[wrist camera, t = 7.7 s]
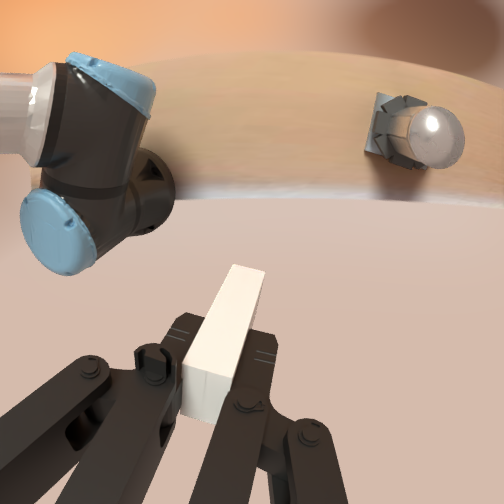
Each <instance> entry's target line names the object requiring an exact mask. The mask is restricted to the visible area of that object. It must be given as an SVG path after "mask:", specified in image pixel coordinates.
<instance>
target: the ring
mask: <svg viewBox="0 0 504 504" xmlns="http://www.w3.org/2000/svg"><path fill="white" fill-rule="evenodd" d="M418 106H427V102H424V101H421V100H419V99H416V98H414V97H411V96H408V95H406V96H403V98H402V96H397V97H395V98H393V99H392V100H390V101H388V102H386V103H384V104H382V105H381V106H380V107H381V108H382V110H383V112H382V111H376V115H375V119H374V124H373V128H372V132H375V133H378V134H379V135H378V136H376V137H374V138H373V140H374V141H375V143H376V145H377V147H378V148H379V150H380V152H381V154H382V156H383V157H384V158H386V159H388V158H389V157H390V158H389V162H390V163H392V164H395V165H398V166H401V167H404V168H407V169H410V170H412V167H414V168H416V169H420V168H421V167H423V166H425V164H423V163H421V162H418V161H416V160H414V159H412V158H409V157H407V156H405V155H402V154H400V153H397V151H395V149H394V147H393V145H392V144H391V142H390V140H389V138H388V136H387V135H389V134H387V130H388V126H389V121H390V117H393V116H392V115H393V114H395V113H397V112H398V111H400V110H402V109H404V108H406V107H418Z"/></svg>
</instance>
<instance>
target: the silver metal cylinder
mask: <svg viewBox="0 0 504 504" xmlns="http://www.w3.org/2000/svg"><path fill="white" fill-rule="evenodd" d="M392 116H393V117H390V121H389V126H388V130H387V134H389V135H387V136H388V138H389V140H390V142H391V144H392V145H393V147H394V149H395V151H397V153H400V154H402V155H405V156H407V157H409V158H412V159H414V160H416V161H418V162H421V163H423V164H425V165H427V166H429V167H431V168H435V169H444V168H448V167H450V166H452V165H453V164H455V163H456V162H457V161H458V159H459V158H460V156H461V155H462V152H463V149H464V144H465V137H464V131H463V128H462V126H461V124H460V122H459V120H458V119H457V117H456V116H455V115H454V114H453V113H452V112H450V111H449V110H447V109H445V108H442V107H436V106H418V107H406V108H404V109H402V110H400V111H398V112H397V113H395V114H393V115H392Z"/></svg>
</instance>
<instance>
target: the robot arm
mask: <svg viewBox="0 0 504 504" xmlns="http://www.w3.org/2000/svg"><path fill="white" fill-rule="evenodd" d="M65 61H66V63H56V62H50V63H48V64H47V65H46V66H44V67H43V68H41V69H40V70H39V71H37V72H36V73H34V74H20V73H0V154H20V155H21V156H22V157H23V158H24V159H25V161H26V162H27V163H28V164H29V165H30V167H42V173H41V180H40V187H39V188H37V189H34V190H32V191H31V192H30V193H29V194H28V196H27V197H25V198H24V200H23V202H22V204H21V209H20V223H21V228H22V232H23V235H24V238H25V240H26V242H27V244H28V246H29V247H30V249H31V251H32V253H33V254H34V255H35V257H36V258H37V259H38V260H39V261H40V262H41V263H42V264H43V265H44V266H45V267H46V268H48V269H49V270H51V271H52V272H54V273H56V274H59V275H63V276H72V275H75V274H78V273H80V272H81V271H83V270H84V269H86V268H88V267H91V266H92V265H93V264H94V263H95V261H96V260H98V259H99V258H100V257H102V256H103V255H104V254H106V253H107V252H108V251H109V250H111V249H112V248H113V247H115V246H116V245H117V244H119V243H120V242H121V241H123V240H124V239H125V238H126V237H129V236H138V235H144V234H147V233H150V232H152V231H154V230H155V229H156V228H158V227H159V226H160V225H161V224H163V223H164V222H165V221H166V219H167V218H168V217H169V215H170V213H171V211H172V208H173V205H174V200H175V187H174V182H173V178H172V175H171V173H170V171H169V169H168V167H167V166H166V164H165V163H164V162H163V161H162V160H161V158H159V157H158V156H157V155H156V154H154V153H153V152H151V151H149V150H146V149H143V148H139V146H140V143H141V140H142V137H143V134H144V130H145V127H146V124H147V121H148V120H150V117H151V115H150V111H151V108H152V105H153V101H154V98H155V95H156V86H155V84H154V82H153V81H152V80H151V79H150V78H148V77H146V76H144V75H142V74H139V73H137V72H134V71H132V70H129V69H126V68H124V67H120V66H118V65H115V64H112V63H109V62H106V61H103V60H99V59H97V58H94V57H90V56H88V55H85V54H81V53H77V52H72V53H70V55H69V56H68V57H67V58H66V60H65ZM264 276H265V272H264V271H260V270H256V269H251V268H247V267H244V266H240V265H235V264H233V266H232V267H231V269H230V271H229V273H228V275H227V277H226V279H225V281H224V283H223V285H222V287H221V289H220V290H219V292H218V294H217V296H216V298H215V300H214V302H213V304H212V306H211V308H210V310H209V312H208V314H207V316H206V318H204V317H201V316H197V315H194V314H190V313H187V312H186V313H184V314H183V315H181V316H180V317H178V318H176V320H175V321H174V323H173V324H172V326H171V328H170V329H169V331H168V332H167V334H166V336H165V337H164V339H163V340H162V342H161V344H157V343H150V344H145V345H142V346H140V347H138V348H137V349H136V350H135V351H134V357H135V367H136V369H133V370H122V369H113V368H109V365H108V363H107V362H106V361H105V360H104V359H102V358H101V357H98V356H93V355H87V356H82V357H80V358H78V359H76V360H75V361H74V362H73V363H71V364H70V365H68V366H67V367H66V368H64V369H63V370H62V371H60V372H59V373H58V374H56V375H55V376H54V377H53V378H51V379H50V380H49V381H47V382H46V383H45V384H43V385H42V386H41V387H39V388H38V389H37V390H35V391H34V392H33V393H31V394H30V395H29V396H28V397H26V398H25V399H24V400H22V401H21V402H20V403H19V404H17V405H16V406H15V407H13V408H12V409H11V410H9V411H8V412H7V413H6V414H4V415H3V416H2V417H0V504H34V503H35V502H37V501H38V500H39V499H40V498H41V497H42V496H43V495H44V494H45V493H46V492H47V491H48V490H49V489H50V488H52V486H54V485H55V484H56V483H57V482H58V481H59V480H60V479H61V478H62V477H63V476H64V475H65V474H66V473H67V472H68V471H69V470H71V468H73V467H74V465H76V464H77V463H78V462H79V463H78V465H77V466H76V468H75V470H74V471H73V473H72V475H71V477H70V478H69V480H68V482H67V483H66V485H65V487H64V489H63V490H62V492H61V494H60V496H59V497H58V499H57V501H56V503H55V504H142V502H143V500H144V498H145V495H146V493H147V490H148V488H149V486H150V484H151V481H152V479H153V477H154V474H155V472H156V470H157V467H158V465H159V463H160V460H161V458H162V456H163V454H164V451H165V449H166V447H167V444H168V442H169V440H170V437H171V435H172V433H173V430H174V428H175V424H176V416H177V414H178V412H179V409H180V414H182V415H185V416H188V417H191V418H194V419H198V420H201V421H204V422H208V423H211V424H215V425H216V426H215V429H214V431H213V435H212V438H211V440H210V444H209V447H208V449H207V452H206V455H205V458H204V461H203V464H202V467H201V470H200V473H199V476H198V478H197V481H196V484H195V487H194V490H193V493H192V495H191V498H190V501H189V504H248V502H249V498H250V494H251V490H252V485H253V480H254V476H255V472H256V467H258V468H260V469H262V470H264V471H266V472H267V475H268V485H269V494H270V503H271V504H348V500H347V496H346V492H345V488H344V484H343V480H342V476H341V472H340V468H339V464H338V459H337V456H336V452H335V448H334V444H333V440H332V436H331V434H330V432H329V430H328V428H327V427H326V426H325V425H324V424H323V423H321V422H319V421H317V420H315V419H308V418H304V419H299V420H297V421H293V420H291V419H288V418H286V417H285V416H282V415H281V414H280V413H278V412H277V411H276V410H275V409H274V408H273V406H272V404H271V402H270V399H269V395H270V388H271V383H272V377H273V371H274V367H275V361H276V354H277V350H278V343H277V340H276V338H275V335H273V334H269V333H265V332H260V331H257V330H253V329H252V326H253V322H254V319H255V315H256V310H257V306H258V302H259V297H260V293H261V289H262V284H263V280H264Z"/></svg>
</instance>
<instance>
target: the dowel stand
mask: <svg viewBox="0 0 504 504" xmlns="http://www.w3.org/2000/svg"><path fill="white" fill-rule="evenodd" d="M393 98H394V97H391V96H388V95H385V94H382V93H379V92H378V93H377V96H376V101H375V106H374V110H373V115H372V120H371V124H370V128H369V133H368V137H367V141H366V146H365V150H366V151H369V152H372V153H376V154H379V155H382V154H381V152H380V150H379V148H378V147H377V145H376V143H375V141H374V140H373V138H374V137H376V136H378V135H379V134H378V133H375V132H372V128H373V124H374V119H375V115H376V111H382V112H383V110H382V108H381V107H380V106H381V105H382V104H384V103H386V102H388V101H390V100H392V99H393ZM389 158H390V157H389ZM421 169H424V170H426V169H427V165H425V166H423V167H421Z"/></svg>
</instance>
